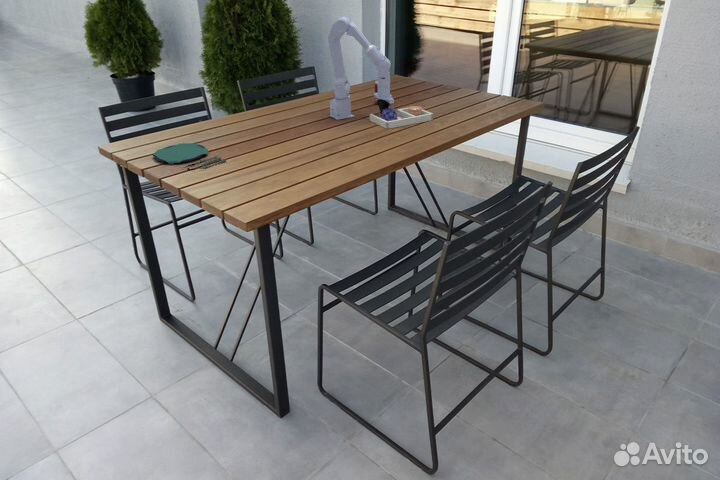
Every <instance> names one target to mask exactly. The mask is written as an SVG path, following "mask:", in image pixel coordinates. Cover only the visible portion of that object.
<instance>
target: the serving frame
mask: <svg viewBox="0 0 720 480" xmlns="http://www.w3.org/2000/svg"><path fill="white" fill-rule="evenodd" d="M408 112H409V110H408V107H404V108H400V109H399V108H398V109H396V114H397V116H398V117H400V118H402V119H398V120H393V121H386V120H384V119H381V118H379V117H380V116H377V115H375V114H372V113H370V114H369V121H370V122H372V123H374V124H375V125H378V126H380V127H381V128H384V129H386V130H390V129H394V128H399V127H403V126H404V127H405V126H409V125H415V124H419V123H421V124H422V123H425V122H431V121H433V120H434V113H432V112H429V111H427V110H425V109H422V110H421V115H420V116H414V115H412V114H409V113H408Z"/></svg>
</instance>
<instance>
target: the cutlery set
mask: <svg viewBox="0 0 720 480" xmlns="http://www.w3.org/2000/svg"><path fill="white" fill-rule="evenodd" d="M208 154H209V149H208V148H206V146H204V145H201V144H197V143H193V142H192V143H191V142H187V143H186V142H185V143H184V142H183V143H178V144H174V145H170V146H169V145H168V146H166V147H163V148H159V149H157V150H156V151H155V152H154V153H153V154H152V156H153V157H154V156H155V157H154V158H155V159H156V160H158V161H160V162H162V163H168V164H169V165H175V164H174V163H179V164H180V163H185V162H190V161H195V160H197V159H199V158H202V157H203V156H204V155H208ZM208 156H209V155H208ZM208 160H209V161H208ZM219 160H220V161H219ZM216 161H218V162H216ZM200 162H202V163H200ZM213 162H215V163H213ZM196 163H198V165H201V167H200V168H198V169H205V170H206V169H208V168H211V166H212V167H215V166H218V165H221V164H223V163H227V159H222V157H221V156H219V157H218V156H217V155H215V156H212V157H209V158H207V159H206V158H204V159H201V160H199V161H196V162H193V163H190V164H188V165H192V164H195V165H197V164H196ZM210 163H212V164H210ZM208 164H209V165H208ZM217 164H218V165H217ZM202 165H203V166H202ZM214 165H215V166H214ZM192 166H194V165H192ZM195 168H196V167H195ZM195 168H194V167H193V169H194V170H196V169H195Z"/></svg>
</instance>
